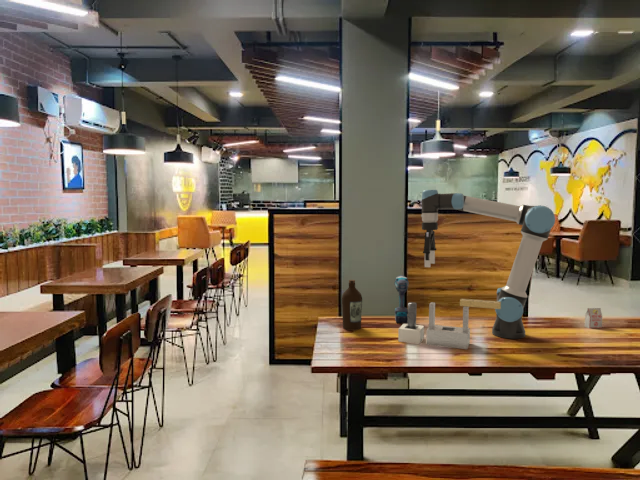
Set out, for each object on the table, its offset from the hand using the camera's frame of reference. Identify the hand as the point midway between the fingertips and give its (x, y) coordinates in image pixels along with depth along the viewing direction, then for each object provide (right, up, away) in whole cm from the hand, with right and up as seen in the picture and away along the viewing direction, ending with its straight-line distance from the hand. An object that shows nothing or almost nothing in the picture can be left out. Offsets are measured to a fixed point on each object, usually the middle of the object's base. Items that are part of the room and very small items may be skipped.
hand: (429, 265), depth 229 cm
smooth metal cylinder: (-10, -33, -7) cm, 36 cm away
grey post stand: (+5, -35, -14) cm, 38 cm away
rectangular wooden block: (+18, -17, -21) cm, 32 cm away
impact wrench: (-9, -32, +28) cm, 44 cm away
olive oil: (-37, -34, +14) cm, 52 cm away
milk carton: (+88, -33, +14) cm, 95 cm away
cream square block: (-10, -35, -7) cm, 37 cm away
